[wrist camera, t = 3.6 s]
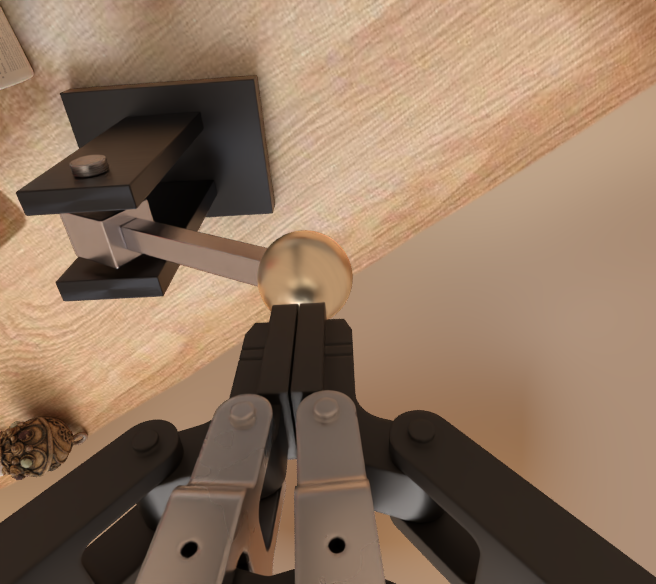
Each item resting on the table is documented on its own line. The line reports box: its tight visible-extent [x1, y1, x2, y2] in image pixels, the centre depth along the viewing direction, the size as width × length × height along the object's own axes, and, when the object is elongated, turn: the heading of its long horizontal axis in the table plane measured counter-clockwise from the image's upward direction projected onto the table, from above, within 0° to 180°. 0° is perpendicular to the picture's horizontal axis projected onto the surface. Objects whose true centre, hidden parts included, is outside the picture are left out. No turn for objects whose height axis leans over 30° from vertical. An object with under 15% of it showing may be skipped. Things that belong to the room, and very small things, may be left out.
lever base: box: [16, 75, 275, 301], centre depth 25 cm, size 11×8×13 cm
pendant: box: [0, 417, 88, 480], centre depth 42 cm, size 5×8×5 cm
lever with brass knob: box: [60, 199, 353, 319], centre depth 19 cm, size 13×3×3 cm, turn 94°
